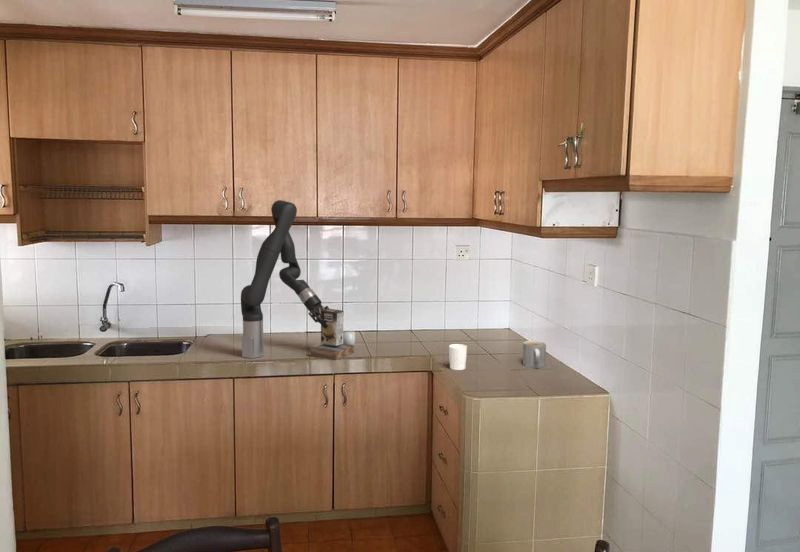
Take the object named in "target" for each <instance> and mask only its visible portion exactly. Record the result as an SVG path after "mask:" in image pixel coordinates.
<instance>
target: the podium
mask: <svg viewBox="0 0 800 552" xmlns="http://www.w3.org/2000/svg"><path fill="white" fill-rule="evenodd" d="M354 353H355V349H354V345H351V344H344V343H343V344H340V345H337V346H334V345H328V344H319V345H316V346H314V347H312V348H310V357H313V358H318V357H319V359H324V358H326V360H332V361H337V360H339V358H340V359H342V358H344V356H345V357H347V356H349V355H352V354H354ZM346 355H347V356H346ZM341 357H342V358H341Z"/></svg>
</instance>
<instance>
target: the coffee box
mask: <svg viewBox="0 0 800 552" xmlns="http://www.w3.org/2000/svg"><path fill="white" fill-rule="evenodd" d="M344 314H345V313H344V310H341V309H334V308H333V309H332V308H329V309H324V310H321V317H322V318H323V320H324V321H325V322H326V324H327V325H328V327H327V328H325V329H324V328H323V326H322V325H321V324H320V345H322V344H328V345H334V346H337V345H340V344H343V332H344V318H345V317H344Z"/></svg>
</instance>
